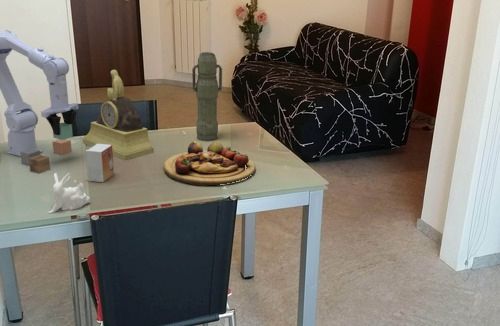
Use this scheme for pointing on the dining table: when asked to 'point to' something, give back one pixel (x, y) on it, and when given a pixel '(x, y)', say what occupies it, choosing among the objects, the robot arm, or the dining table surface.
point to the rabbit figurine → (68, 195)
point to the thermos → (207, 96)
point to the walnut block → (39, 164)
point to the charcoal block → (28, 155)
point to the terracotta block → (62, 146)
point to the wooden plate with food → (209, 165)
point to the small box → (99, 162)
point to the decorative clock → (119, 125)
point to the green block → (64, 131)
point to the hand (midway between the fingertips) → (62, 132)
